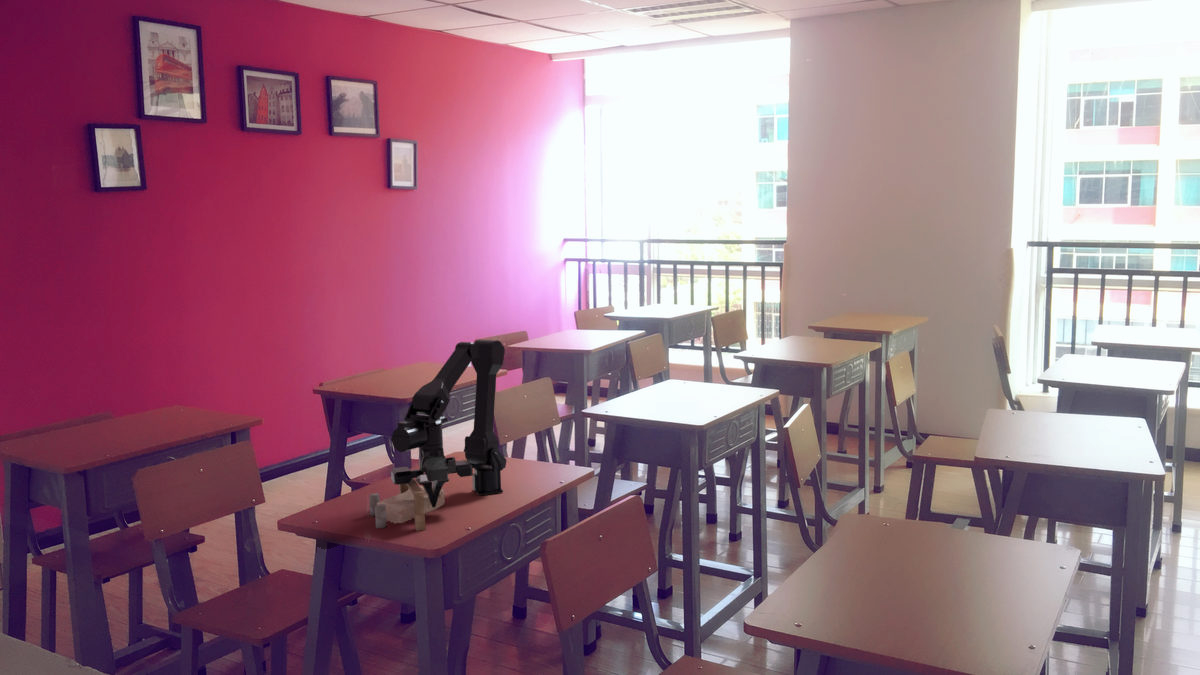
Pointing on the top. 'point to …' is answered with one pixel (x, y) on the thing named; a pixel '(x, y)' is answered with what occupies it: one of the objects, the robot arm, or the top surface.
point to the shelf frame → (419, 511)
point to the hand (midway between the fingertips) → (433, 507)
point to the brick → (407, 506)
